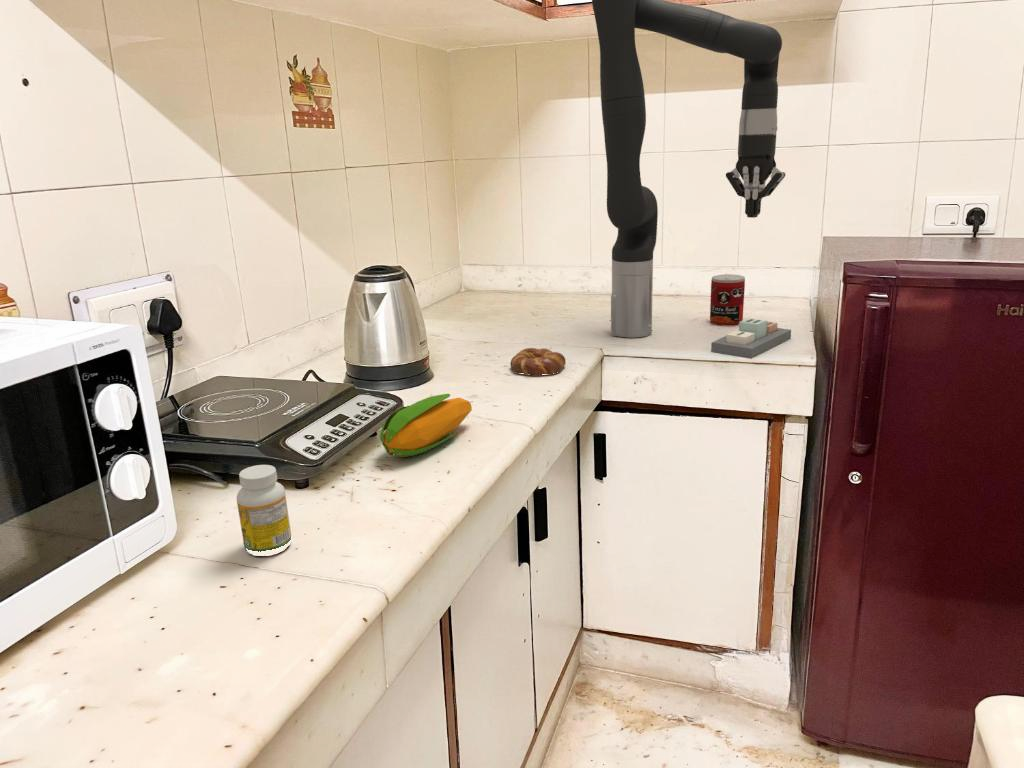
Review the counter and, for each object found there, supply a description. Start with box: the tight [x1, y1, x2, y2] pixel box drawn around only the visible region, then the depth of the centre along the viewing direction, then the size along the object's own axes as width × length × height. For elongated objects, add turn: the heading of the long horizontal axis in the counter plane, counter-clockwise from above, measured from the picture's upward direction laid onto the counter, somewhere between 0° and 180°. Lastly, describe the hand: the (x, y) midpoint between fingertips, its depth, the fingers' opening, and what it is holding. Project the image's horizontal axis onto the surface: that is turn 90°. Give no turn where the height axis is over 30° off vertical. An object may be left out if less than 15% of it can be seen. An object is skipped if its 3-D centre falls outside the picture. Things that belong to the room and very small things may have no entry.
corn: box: [379, 393, 472, 458], centre depth 117 cm, size 7×8×20 cm
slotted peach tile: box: [766, 321, 778, 334], centre depth 168 cm, size 4×4×4 cm
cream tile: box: [726, 330, 755, 345], centre depth 160 cm, size 4×4×4 cm
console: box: [710, 327, 792, 359], centre depth 164 cm, size 9×19×2 cm, turn 138°
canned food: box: [709, 273, 746, 326], centre depth 183 cm, size 8×8×11 cm
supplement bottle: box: [236, 464, 292, 552], centre depth 88 cm, size 5×5×10 cm
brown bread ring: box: [509, 347, 567, 376], centre depth 154 cm, size 12×11×4 cm
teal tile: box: [738, 317, 768, 340], centre depth 164 cm, size 4×4×4 cm
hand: (752, 217), depth 165 cm, fingers closed
